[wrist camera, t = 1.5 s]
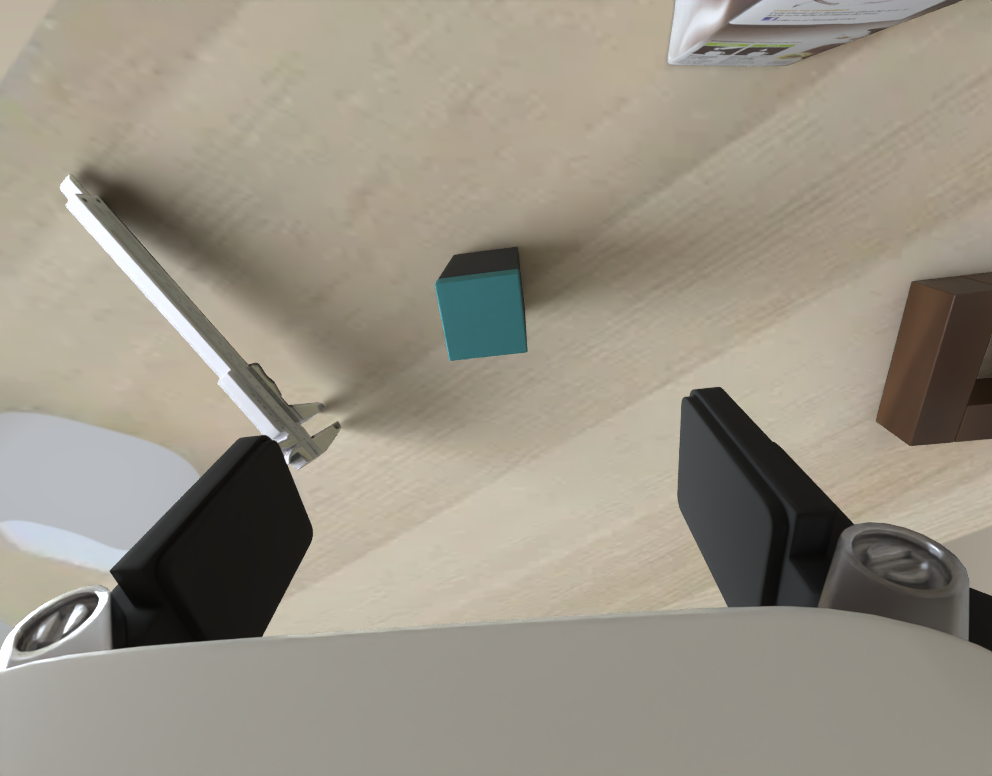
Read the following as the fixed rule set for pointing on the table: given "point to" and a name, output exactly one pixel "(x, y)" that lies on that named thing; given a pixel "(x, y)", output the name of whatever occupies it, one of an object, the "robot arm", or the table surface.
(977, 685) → the robot arm
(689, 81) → the table surface
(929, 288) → the mount block
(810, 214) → the table surface
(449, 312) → the block
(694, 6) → the coffee box
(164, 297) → the caliper
